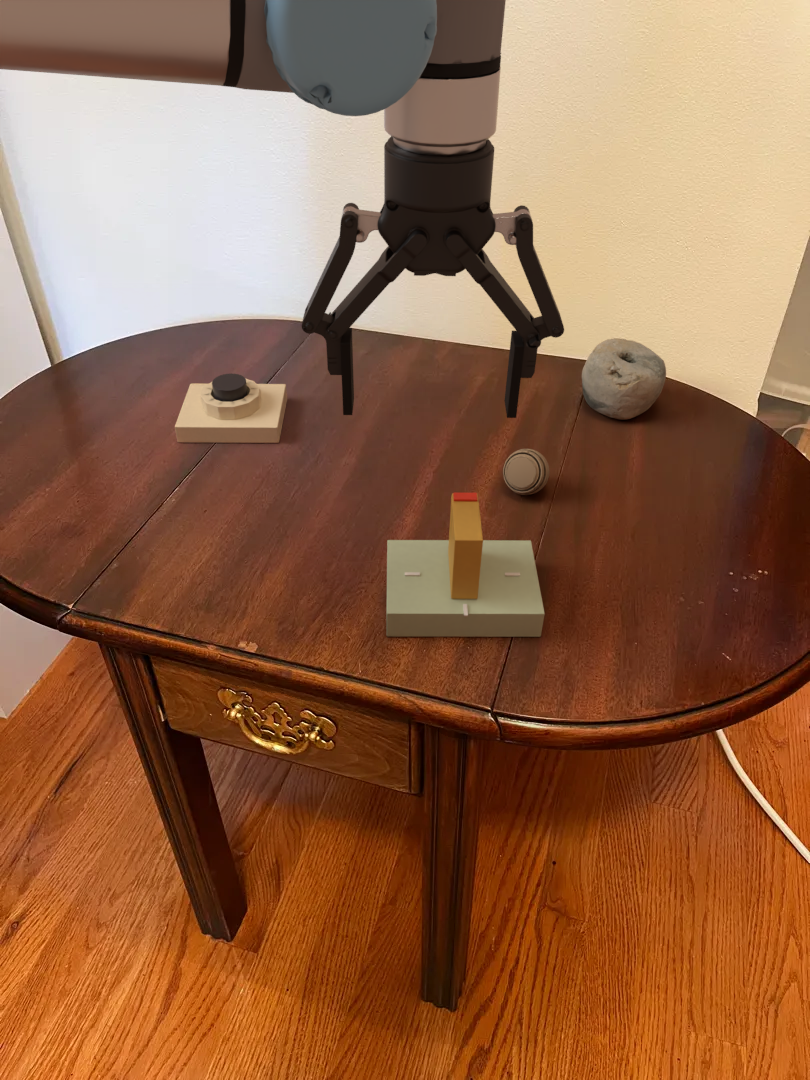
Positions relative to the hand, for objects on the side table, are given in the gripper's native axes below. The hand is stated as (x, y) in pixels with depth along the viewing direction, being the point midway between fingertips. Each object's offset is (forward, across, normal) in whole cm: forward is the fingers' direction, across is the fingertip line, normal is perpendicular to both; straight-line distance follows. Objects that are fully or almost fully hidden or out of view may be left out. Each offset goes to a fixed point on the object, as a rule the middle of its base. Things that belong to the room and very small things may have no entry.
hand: (429, 408), depth 70 cm
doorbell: (+18, +23, -27) cm, 40 cm away
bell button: (+15, +23, -27) cm, 38 cm away
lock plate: (+18, -4, +4) cm, 19 cm away
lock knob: (+15, -3, +4) cm, 16 cm away
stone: (+19, -25, -32) cm, 44 cm away
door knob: (+19, -11, -13) cm, 26 cm away
